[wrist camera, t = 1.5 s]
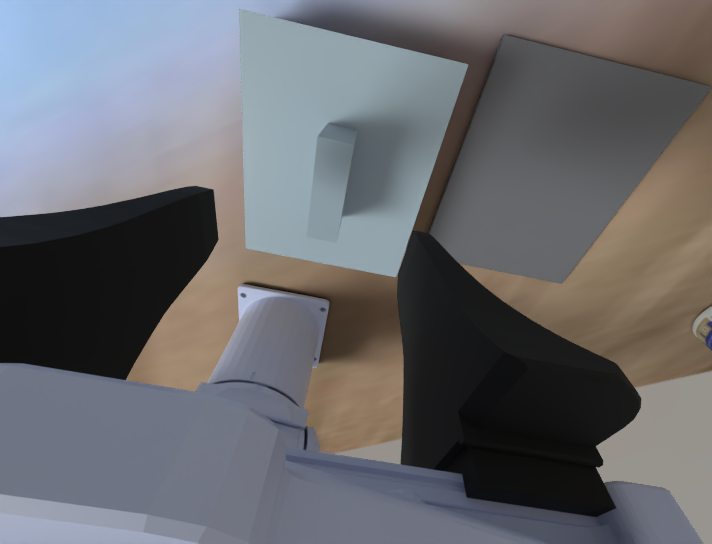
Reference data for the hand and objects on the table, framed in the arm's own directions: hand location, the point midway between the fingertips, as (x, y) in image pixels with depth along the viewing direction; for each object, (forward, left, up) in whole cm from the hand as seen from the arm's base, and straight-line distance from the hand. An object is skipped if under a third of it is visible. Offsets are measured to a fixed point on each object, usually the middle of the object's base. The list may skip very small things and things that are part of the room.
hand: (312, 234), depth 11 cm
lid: (0, 0, -8) cm, 8 cm away
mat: (+1, -13, -11) cm, 17 cm away
